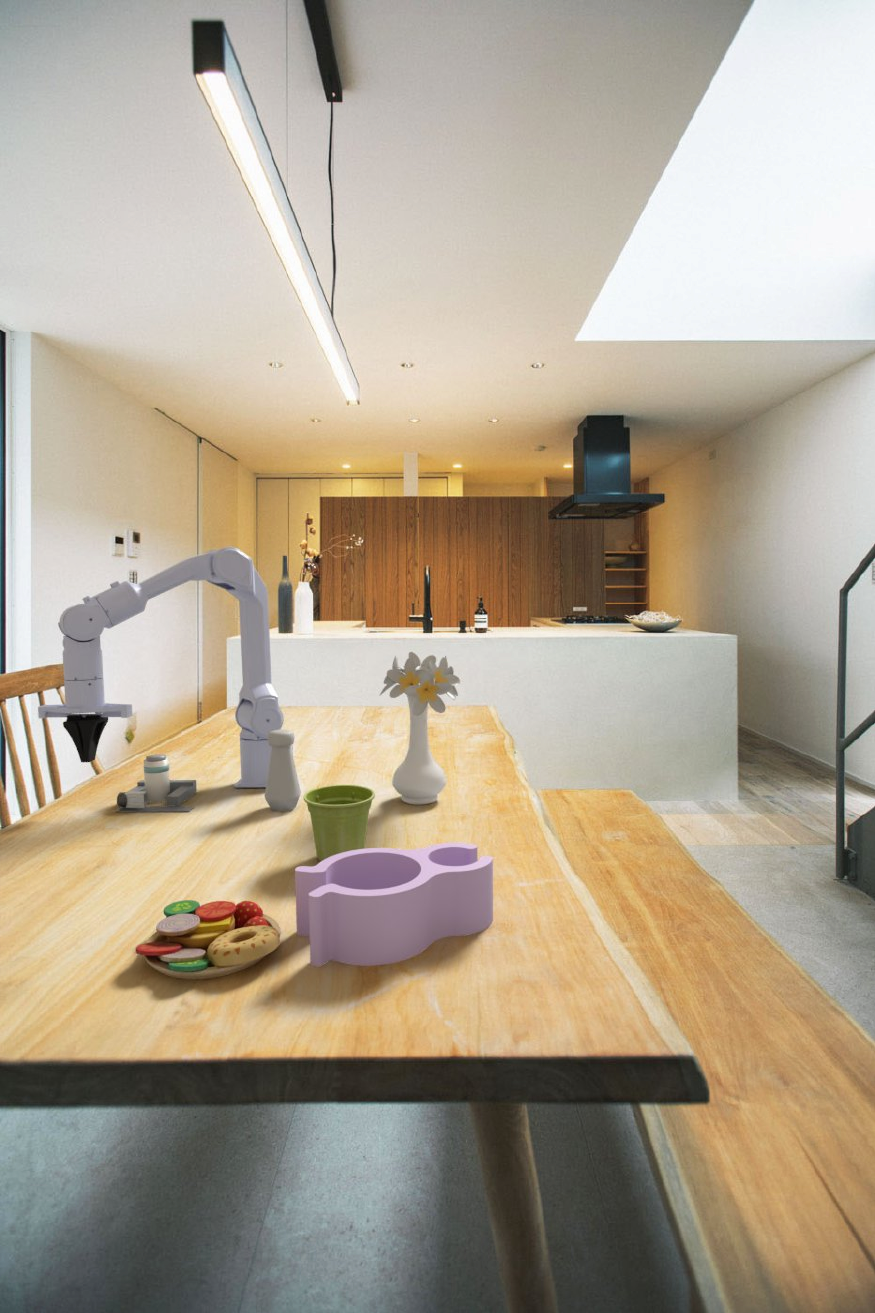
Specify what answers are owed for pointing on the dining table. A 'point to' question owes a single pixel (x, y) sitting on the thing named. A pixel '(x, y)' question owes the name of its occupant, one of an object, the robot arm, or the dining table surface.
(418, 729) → the flower vase
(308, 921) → the clip
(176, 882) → the dining table surface
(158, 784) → the white cylinder
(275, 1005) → the dining table surface
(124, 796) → the latch pin
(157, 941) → the toy food set
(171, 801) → the housing
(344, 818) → the plant pot
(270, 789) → the salt shaker
